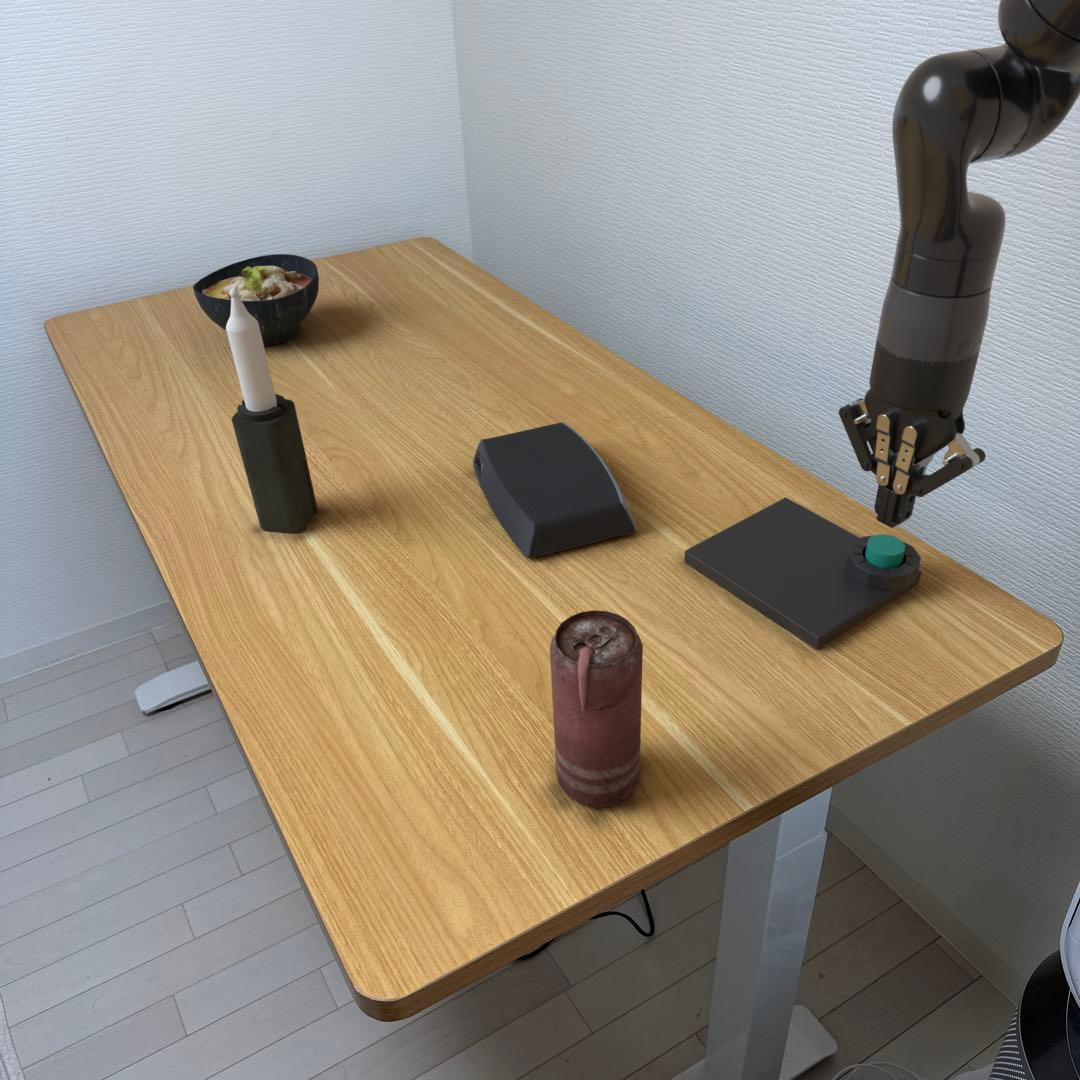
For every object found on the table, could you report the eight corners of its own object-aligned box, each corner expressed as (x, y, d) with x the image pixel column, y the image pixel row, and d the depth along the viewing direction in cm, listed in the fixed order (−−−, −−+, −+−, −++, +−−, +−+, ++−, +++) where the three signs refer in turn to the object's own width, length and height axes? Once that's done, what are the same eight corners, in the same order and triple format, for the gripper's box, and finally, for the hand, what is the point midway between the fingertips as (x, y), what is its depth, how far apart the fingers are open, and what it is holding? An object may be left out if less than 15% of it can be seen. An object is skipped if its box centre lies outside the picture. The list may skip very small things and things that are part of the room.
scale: (928, 583, 87) (934, 557, 85) (821, 654, 80) (826, 626, 79) (787, 506, 98) (791, 481, 96) (683, 562, 91) (685, 536, 90)
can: (550, 809, 69) (541, 667, 61) (563, 742, 74) (556, 602, 66) (635, 818, 68) (638, 674, 60) (642, 750, 73) (646, 609, 65)
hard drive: (576, 443, 110) (575, 411, 108) (645, 534, 95) (645, 500, 93) (466, 467, 107) (463, 435, 105) (520, 565, 92) (517, 530, 90)
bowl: (183, 345, 138) (164, 277, 132) (272, 303, 149) (258, 240, 143) (264, 371, 130) (247, 300, 124) (352, 325, 141) (341, 258, 135)
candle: (277, 503, 103) (220, 277, 88) (321, 506, 102) (271, 279, 88) (256, 530, 99) (193, 299, 84) (302, 534, 98) (246, 301, 84)
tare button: (909, 559, 86) (913, 545, 85) (887, 573, 84) (890, 559, 84) (880, 543, 88) (882, 529, 87) (857, 557, 87) (860, 543, 86)
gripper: (1037, 350, 71) (984, 538, 81) (887, 298, 80) (856, 475, 90) (977, 381, 68) (929, 574, 78) (828, 324, 76) (802, 504, 87)
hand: (890, 520), depth 84 cm, fingers closed
